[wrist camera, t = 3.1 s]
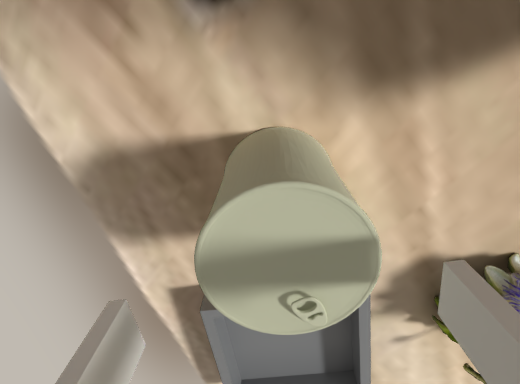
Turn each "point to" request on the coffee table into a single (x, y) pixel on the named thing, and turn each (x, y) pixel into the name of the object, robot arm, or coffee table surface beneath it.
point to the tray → (291, 351)
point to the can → (285, 238)
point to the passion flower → (508, 286)
